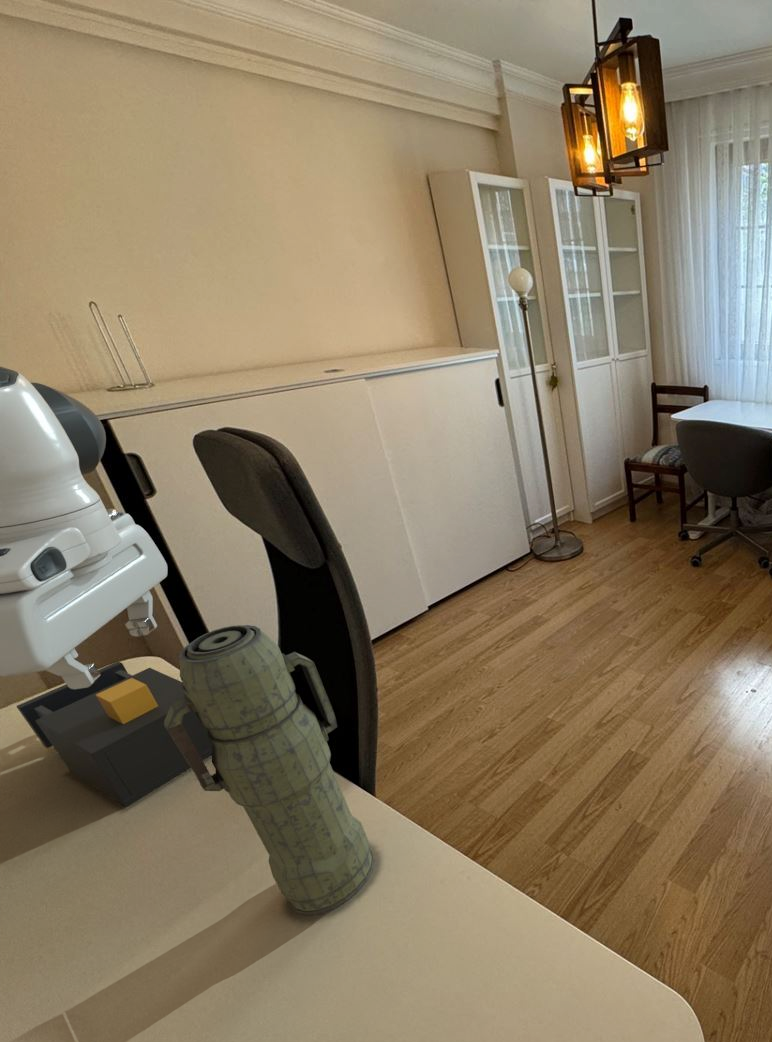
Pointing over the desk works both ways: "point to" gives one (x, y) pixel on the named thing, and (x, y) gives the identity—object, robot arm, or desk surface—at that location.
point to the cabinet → (124, 741)
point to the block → (127, 700)
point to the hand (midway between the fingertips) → (118, 656)
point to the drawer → (67, 697)
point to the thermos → (273, 762)
